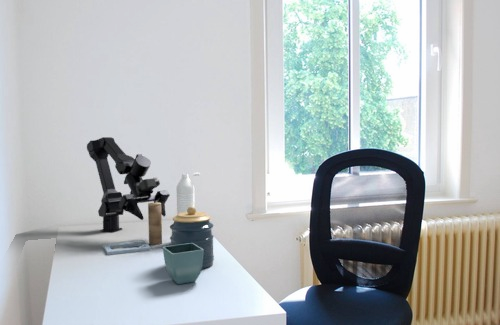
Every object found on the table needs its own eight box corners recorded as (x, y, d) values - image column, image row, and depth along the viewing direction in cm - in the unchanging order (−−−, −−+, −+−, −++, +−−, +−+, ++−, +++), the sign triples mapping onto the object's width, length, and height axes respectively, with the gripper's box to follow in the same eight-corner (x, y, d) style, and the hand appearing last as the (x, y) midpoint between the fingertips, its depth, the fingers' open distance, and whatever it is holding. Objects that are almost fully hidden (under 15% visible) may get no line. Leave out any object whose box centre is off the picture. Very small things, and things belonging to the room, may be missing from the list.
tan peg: (153, 241, 172) (152, 202, 171) (164, 242, 171) (163, 202, 170) (146, 244, 168) (145, 204, 167) (157, 245, 166) (156, 204, 165)
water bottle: (179, 244, 167) (178, 174, 166) (175, 240, 173) (174, 173, 172) (203, 242, 170) (202, 173, 169) (198, 238, 176) (197, 172, 175)
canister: (175, 272, 133) (174, 211, 132) (166, 261, 145) (165, 204, 144) (219, 267, 138) (218, 208, 137) (207, 257, 150) (206, 202, 149)
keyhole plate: (144, 243, 169) (144, 240, 169) (151, 250, 159) (151, 247, 159) (103, 247, 163) (103, 244, 163) (107, 255, 153) (107, 251, 153)
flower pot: (172, 288, 120) (172, 253, 119) (162, 279, 127) (161, 246, 127) (205, 283, 124) (204, 249, 123) (193, 274, 132) (192, 242, 131)
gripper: (121, 172, 166) (138, 206, 158) (166, 169, 179) (184, 200, 171) (111, 192, 172) (127, 226, 164) (155, 188, 185) (172, 219, 177)
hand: (154, 217), depth 169 cm, fingers open, 9 cm apart
